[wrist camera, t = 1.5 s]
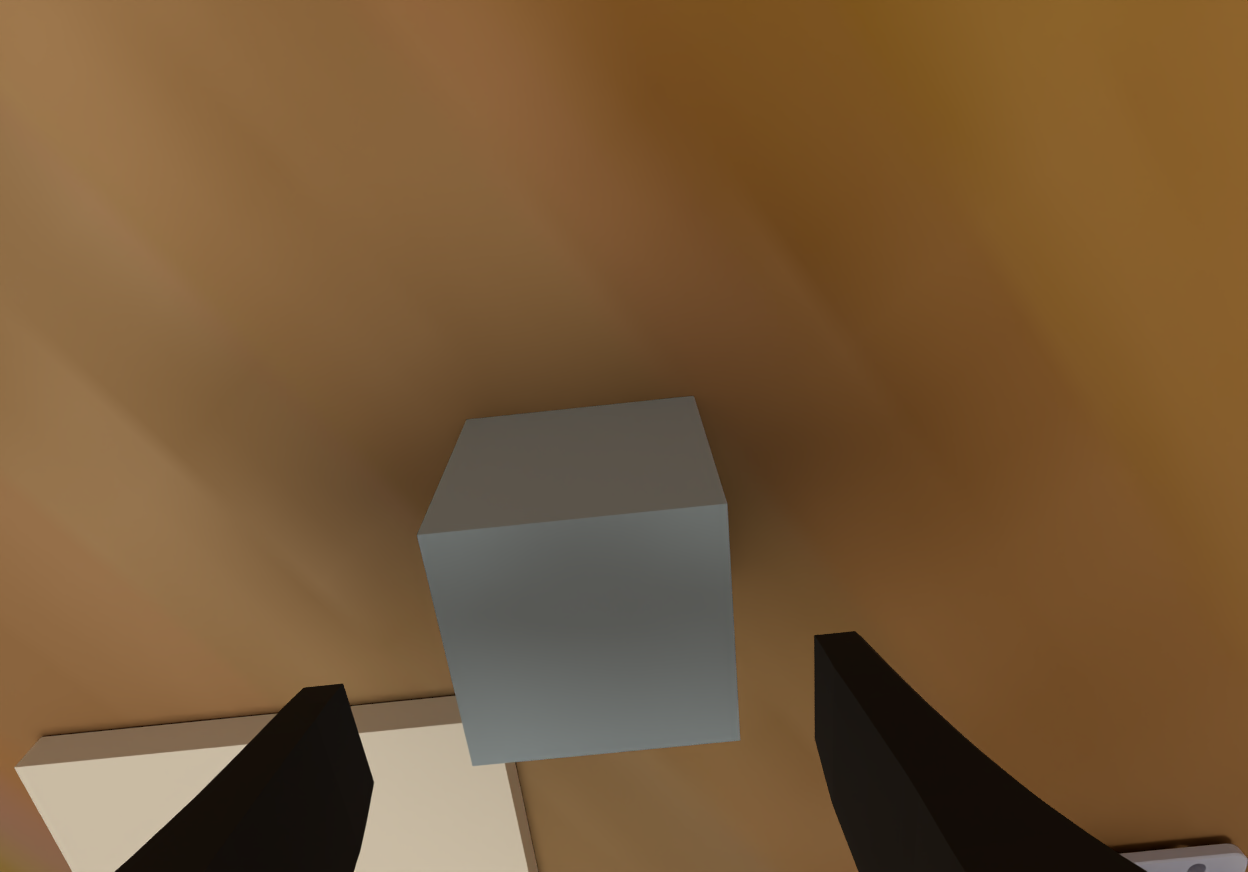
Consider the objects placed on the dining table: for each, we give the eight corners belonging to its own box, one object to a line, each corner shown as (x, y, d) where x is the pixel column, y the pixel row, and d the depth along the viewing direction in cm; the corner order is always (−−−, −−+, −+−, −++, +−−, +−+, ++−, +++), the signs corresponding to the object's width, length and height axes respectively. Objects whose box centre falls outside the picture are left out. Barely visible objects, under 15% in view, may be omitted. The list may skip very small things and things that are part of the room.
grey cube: (693, 394, 17) (727, 503, 12) (706, 585, 19) (740, 740, 14) (467, 417, 17) (417, 535, 12) (503, 605, 19) (472, 766, 14)
